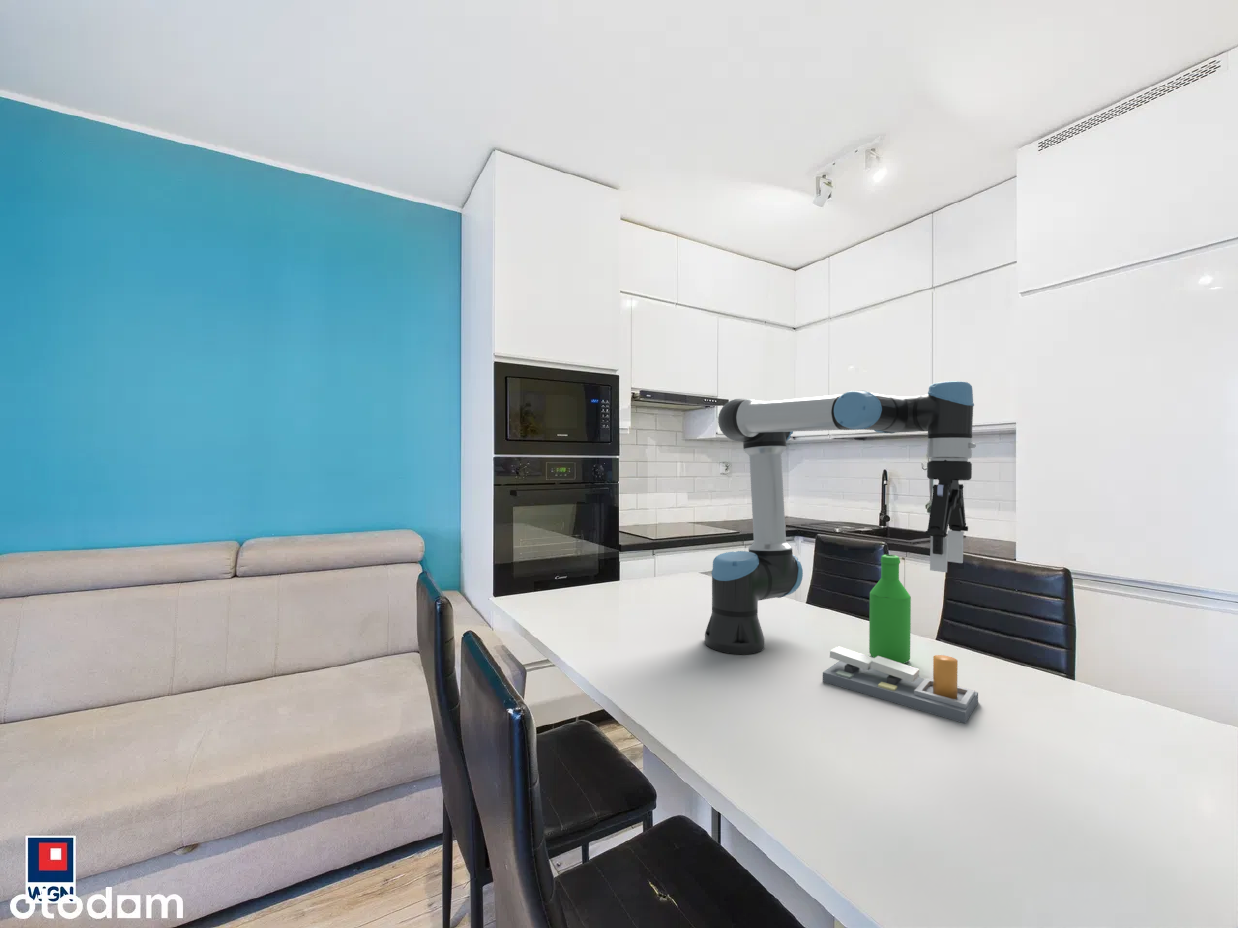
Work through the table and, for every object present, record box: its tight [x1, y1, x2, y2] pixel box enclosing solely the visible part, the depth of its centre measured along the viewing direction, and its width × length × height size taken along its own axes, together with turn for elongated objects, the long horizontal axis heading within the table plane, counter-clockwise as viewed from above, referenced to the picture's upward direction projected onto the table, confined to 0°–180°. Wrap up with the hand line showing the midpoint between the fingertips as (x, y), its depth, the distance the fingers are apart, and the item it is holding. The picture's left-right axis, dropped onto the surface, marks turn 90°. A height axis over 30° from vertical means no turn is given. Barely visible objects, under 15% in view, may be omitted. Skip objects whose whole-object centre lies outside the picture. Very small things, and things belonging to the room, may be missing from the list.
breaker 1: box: [829, 645, 874, 671], centre depth 114 cm, size 8×4×2 cm, turn 46°
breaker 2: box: [870, 656, 920, 682], centre depth 108 cm, size 8×4×2 cm, turn 46°
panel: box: [822, 660, 979, 724], centre depth 108 cm, size 26×12×3 cm, turn 46°
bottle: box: [868, 554, 912, 664], centre depth 126 cm, size 9×9×25 cm
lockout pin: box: [932, 654, 959, 699], centre depth 102 cm, size 4×4×7 cm
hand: (947, 566), depth 104 cm, fingers open, 13 cm apart
